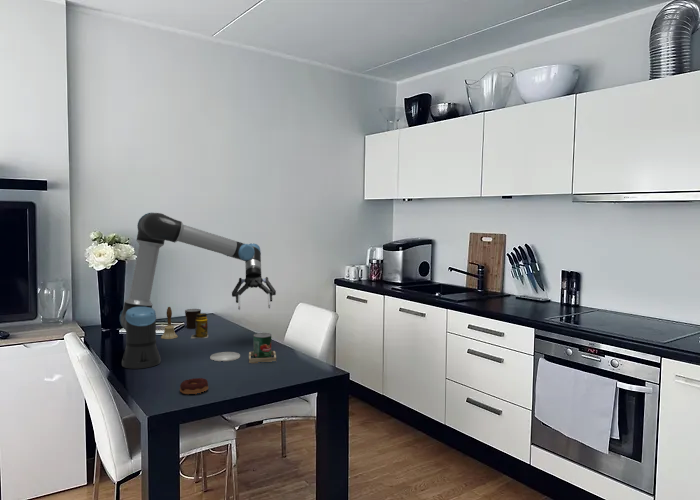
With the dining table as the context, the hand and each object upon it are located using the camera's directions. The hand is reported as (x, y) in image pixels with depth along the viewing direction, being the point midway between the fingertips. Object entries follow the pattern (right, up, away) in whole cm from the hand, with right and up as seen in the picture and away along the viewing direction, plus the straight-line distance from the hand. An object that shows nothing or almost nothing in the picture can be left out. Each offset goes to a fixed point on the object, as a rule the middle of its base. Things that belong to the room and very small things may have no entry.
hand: (254, 307), depth 230 cm
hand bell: (-49, -19, +28) cm, 60 cm away
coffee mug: (-44, -17, +53) cm, 71 cm away
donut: (-12, -25, -50) cm, 57 cm away
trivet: (-12, -22, -6) cm, 25 cm away
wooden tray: (+5, -22, -9) cm, 24 cm away
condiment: (-34, -19, +31) cm, 50 cm away
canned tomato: (+5, -22, -9) cm, 24 cm away
